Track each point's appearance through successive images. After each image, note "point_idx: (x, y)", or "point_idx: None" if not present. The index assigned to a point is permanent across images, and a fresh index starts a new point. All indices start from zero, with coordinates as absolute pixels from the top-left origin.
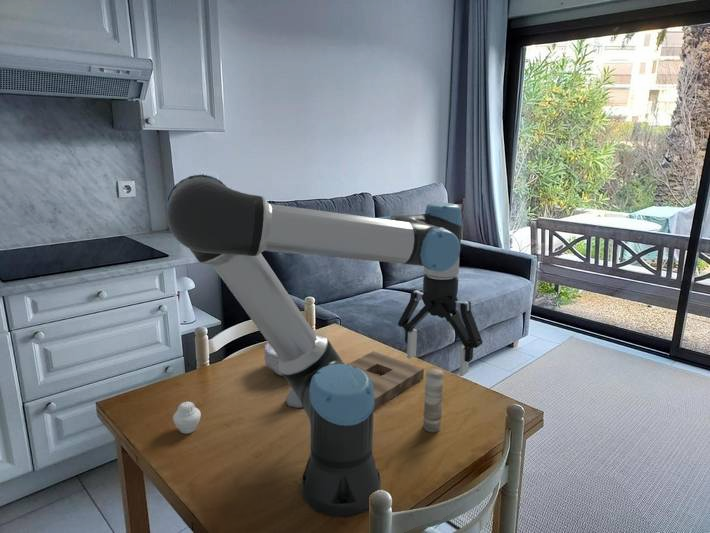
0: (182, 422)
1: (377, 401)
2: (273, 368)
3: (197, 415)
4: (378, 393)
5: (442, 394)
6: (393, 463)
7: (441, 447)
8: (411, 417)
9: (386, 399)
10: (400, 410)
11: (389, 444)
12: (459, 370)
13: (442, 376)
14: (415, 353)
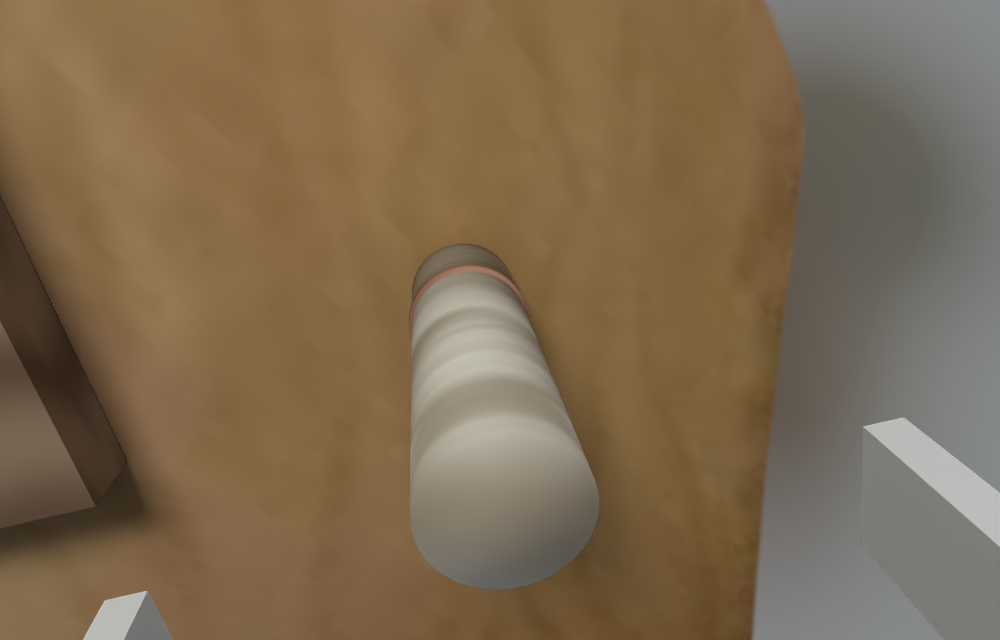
0: None
1: (81, 432)
2: None
3: None
4: (19, 417)
5: (545, 363)
6: (556, 605)
7: (620, 379)
8: (309, 314)
9: (50, 329)
10: (202, 314)
11: None
12: (899, 587)
13: (596, 488)
14: (142, 629)
